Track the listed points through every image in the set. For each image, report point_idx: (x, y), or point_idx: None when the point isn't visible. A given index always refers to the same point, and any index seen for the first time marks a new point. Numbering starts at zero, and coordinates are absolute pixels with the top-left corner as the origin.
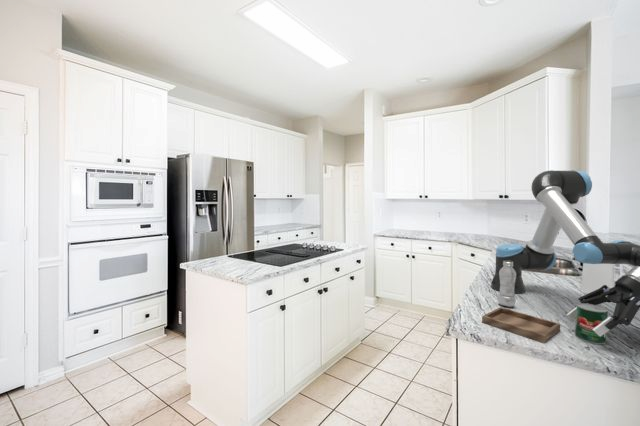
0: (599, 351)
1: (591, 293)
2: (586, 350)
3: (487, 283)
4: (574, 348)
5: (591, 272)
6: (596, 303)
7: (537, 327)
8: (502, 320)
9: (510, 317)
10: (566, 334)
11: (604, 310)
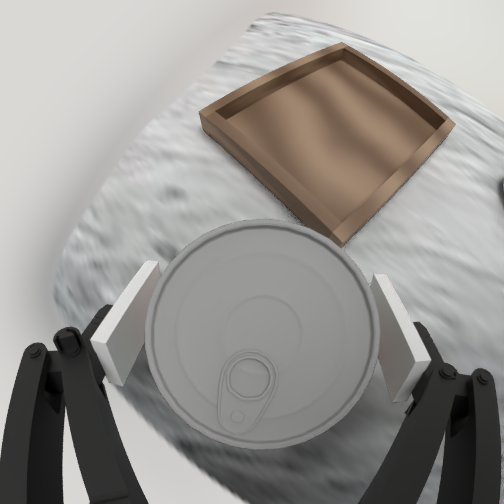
0: None
1: (487, 464)
2: (150, 234)
3: None
4: (165, 201)
5: None
6: (387, 458)
7: (331, 165)
8: (364, 95)
9: (405, 131)
10: None
11: (201, 402)
